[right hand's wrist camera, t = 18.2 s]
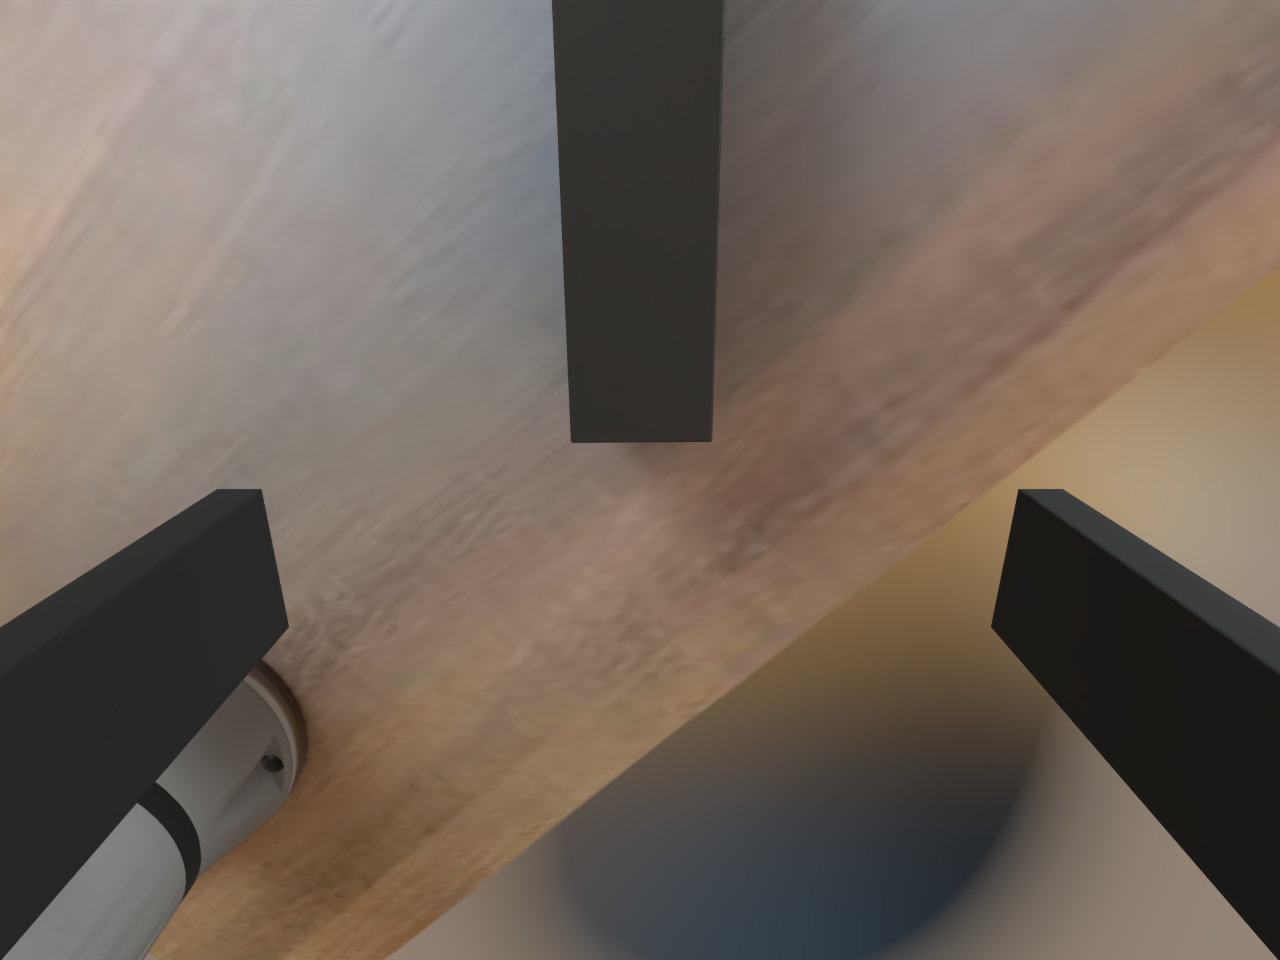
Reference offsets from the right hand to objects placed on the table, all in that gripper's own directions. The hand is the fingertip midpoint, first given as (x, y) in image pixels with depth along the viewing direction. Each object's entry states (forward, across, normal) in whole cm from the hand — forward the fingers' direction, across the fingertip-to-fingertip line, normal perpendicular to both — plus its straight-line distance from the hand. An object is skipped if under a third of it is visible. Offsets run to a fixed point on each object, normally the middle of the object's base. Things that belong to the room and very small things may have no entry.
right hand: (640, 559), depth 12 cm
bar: (+26, 0, -10) cm, 27 cm away
